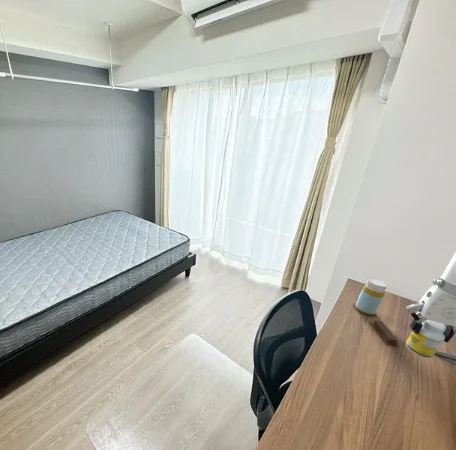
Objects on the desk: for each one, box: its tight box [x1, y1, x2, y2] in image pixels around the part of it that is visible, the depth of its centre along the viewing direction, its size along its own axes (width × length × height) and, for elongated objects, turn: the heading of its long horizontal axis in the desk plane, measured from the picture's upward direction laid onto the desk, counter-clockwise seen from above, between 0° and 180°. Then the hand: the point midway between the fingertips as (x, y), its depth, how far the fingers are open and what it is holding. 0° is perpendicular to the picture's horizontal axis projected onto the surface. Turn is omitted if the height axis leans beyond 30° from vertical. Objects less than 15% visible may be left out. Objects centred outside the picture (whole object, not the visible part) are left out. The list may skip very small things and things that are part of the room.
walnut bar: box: [372, 319, 399, 346], centre depth 95 cm, size 10×2×2 cm, turn 166°
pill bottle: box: [405, 320, 446, 359], centre depth 78 cm, size 6×6×12 cm
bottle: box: [354, 277, 388, 316], centre depth 105 cm, size 7×7×15 cm
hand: (428, 334), depth 77 cm, fingers closed on pill bottle, 6 cm apart
